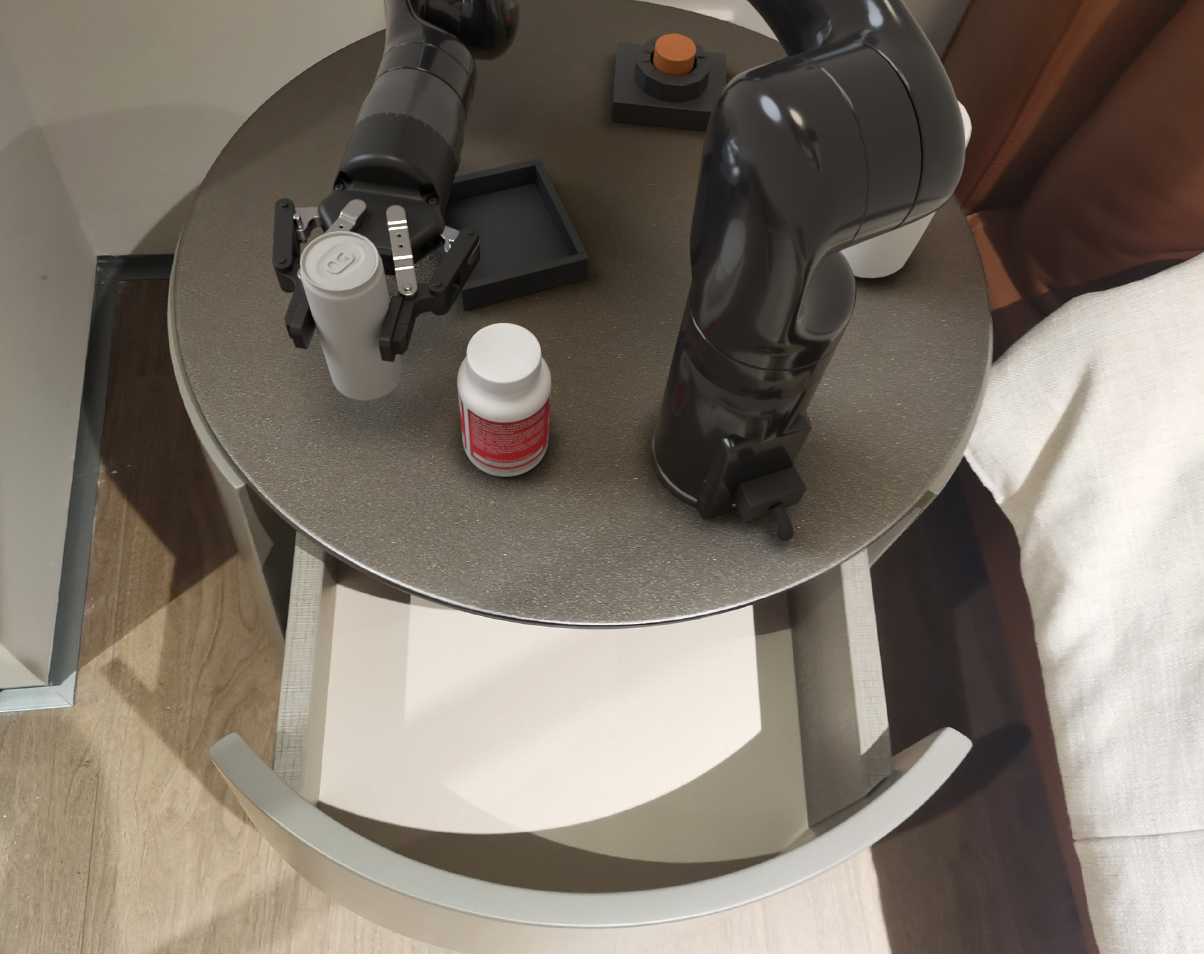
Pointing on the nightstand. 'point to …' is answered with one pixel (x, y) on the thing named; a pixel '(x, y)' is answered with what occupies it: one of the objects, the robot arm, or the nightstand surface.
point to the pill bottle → (504, 400)
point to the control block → (665, 88)
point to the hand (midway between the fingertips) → (342, 346)
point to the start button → (674, 55)
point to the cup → (892, 239)
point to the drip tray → (515, 233)
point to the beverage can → (350, 312)
